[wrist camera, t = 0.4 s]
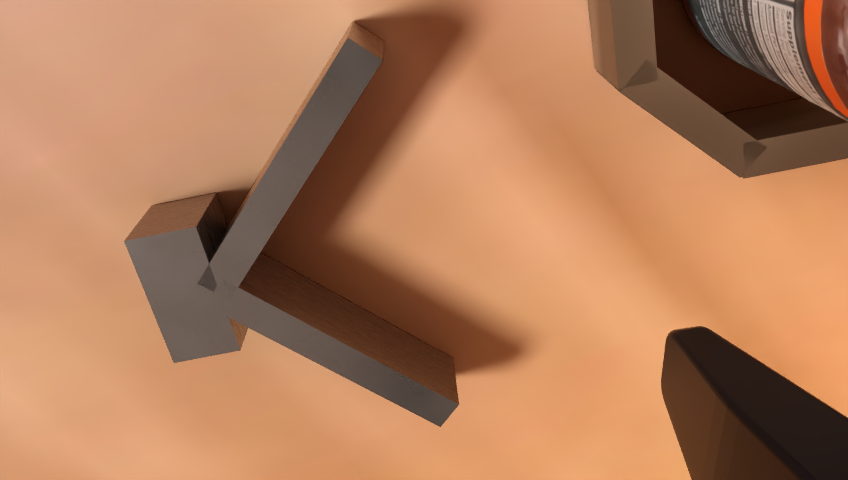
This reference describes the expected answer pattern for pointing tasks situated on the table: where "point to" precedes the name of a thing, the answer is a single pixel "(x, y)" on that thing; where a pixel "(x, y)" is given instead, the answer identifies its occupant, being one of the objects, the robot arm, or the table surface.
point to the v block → (270, 280)
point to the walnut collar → (697, 121)
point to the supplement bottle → (783, 43)
